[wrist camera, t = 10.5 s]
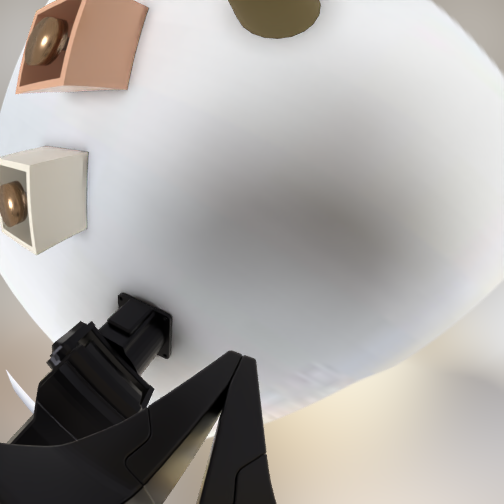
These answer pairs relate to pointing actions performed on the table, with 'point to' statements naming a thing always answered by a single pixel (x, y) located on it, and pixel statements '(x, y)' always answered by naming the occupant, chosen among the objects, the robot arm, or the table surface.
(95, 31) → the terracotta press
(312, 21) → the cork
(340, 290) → the table surface
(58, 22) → the brown and grey plunger
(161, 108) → the table surface
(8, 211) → the round copper knob
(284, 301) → the table surface
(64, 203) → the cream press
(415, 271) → the table surface
